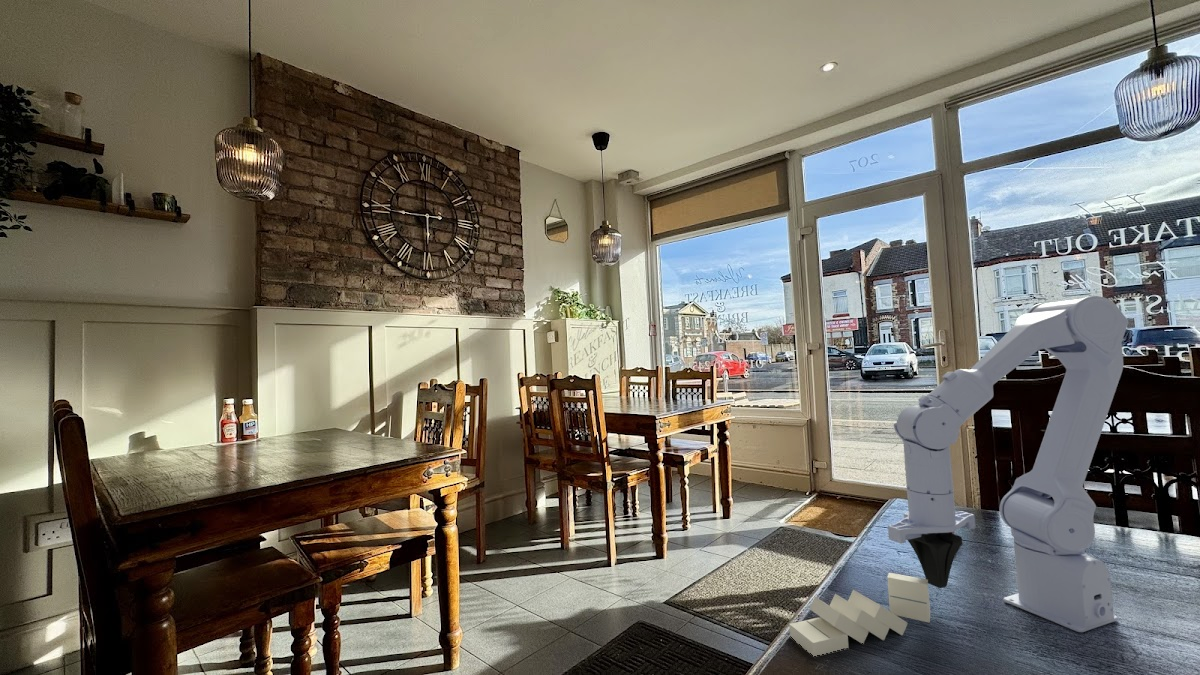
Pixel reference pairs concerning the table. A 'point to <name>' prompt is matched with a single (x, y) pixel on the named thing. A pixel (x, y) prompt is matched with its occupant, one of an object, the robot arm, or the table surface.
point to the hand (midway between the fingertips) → (936, 584)
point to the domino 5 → (909, 597)
